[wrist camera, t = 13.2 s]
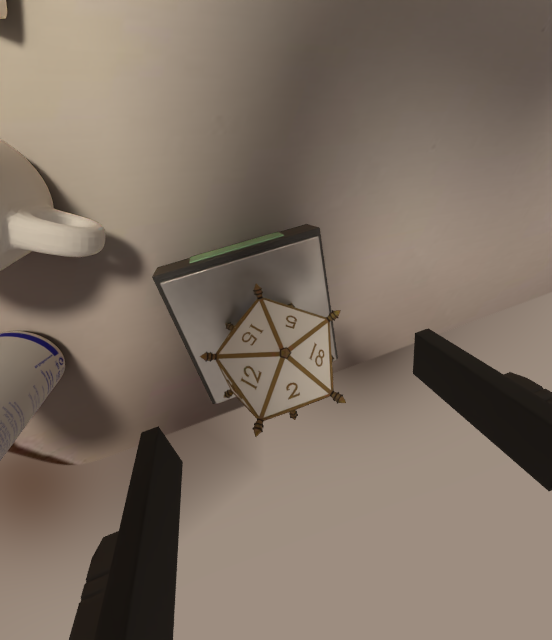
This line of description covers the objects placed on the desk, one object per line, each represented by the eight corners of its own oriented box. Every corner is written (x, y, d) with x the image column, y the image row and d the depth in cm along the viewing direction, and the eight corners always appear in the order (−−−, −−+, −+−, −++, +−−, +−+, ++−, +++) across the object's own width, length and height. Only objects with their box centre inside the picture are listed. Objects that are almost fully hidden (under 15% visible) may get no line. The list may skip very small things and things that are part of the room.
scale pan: (160, 280, 18) (159, 283, 17) (315, 234, 19) (318, 235, 18) (216, 399, 23) (216, 404, 22) (333, 356, 24) (336, 360, 24)
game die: (276, 306, 24) (380, 362, 19) (218, 385, 22) (317, 468, 18) (233, 239, 16) (389, 304, 12) (141, 350, 15) (279, 481, 10)
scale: (156, 266, 19) (151, 275, 17) (306, 222, 21) (319, 225, 19) (211, 386, 25) (212, 404, 23) (326, 345, 27) (337, 358, 25)
